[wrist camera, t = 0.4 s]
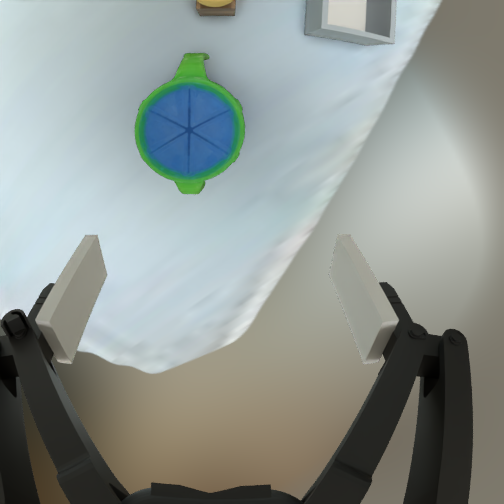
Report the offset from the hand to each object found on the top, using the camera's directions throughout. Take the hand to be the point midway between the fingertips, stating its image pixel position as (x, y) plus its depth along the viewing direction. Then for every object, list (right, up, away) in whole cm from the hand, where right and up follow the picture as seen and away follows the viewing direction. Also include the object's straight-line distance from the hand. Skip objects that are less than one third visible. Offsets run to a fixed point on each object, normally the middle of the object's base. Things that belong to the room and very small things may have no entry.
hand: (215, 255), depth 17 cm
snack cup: (-5, +17, +19) cm, 26 cm away
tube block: (+13, +33, +10) cm, 36 cm away
